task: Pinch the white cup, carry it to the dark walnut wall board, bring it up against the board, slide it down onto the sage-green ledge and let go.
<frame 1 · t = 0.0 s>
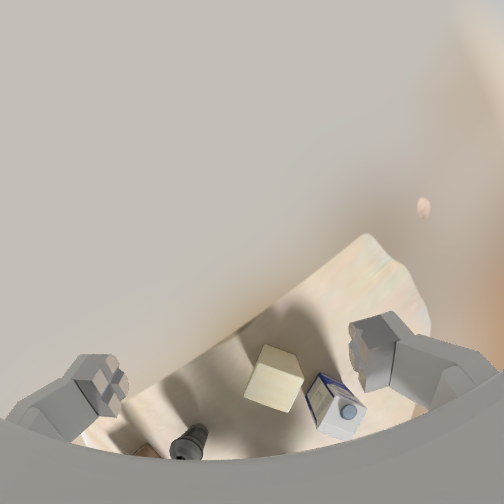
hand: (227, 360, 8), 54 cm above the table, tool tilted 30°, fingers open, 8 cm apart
milk carton: (324, 389, 57), on the table
beverage cup: (199, 431, 57), on the table
toy refrigerator: (273, 363, 59), on the table
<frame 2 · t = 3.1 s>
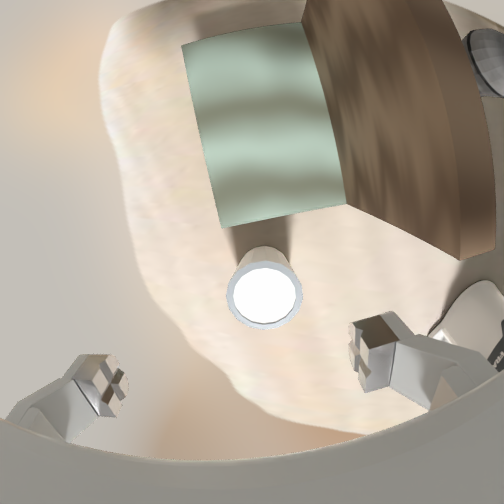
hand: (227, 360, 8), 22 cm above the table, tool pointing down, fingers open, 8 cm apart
beverage cup: (434, 84, 23), on the table
wall shelf: (318, 120, 26), on the table
white cup: (264, 269, 31), on the table
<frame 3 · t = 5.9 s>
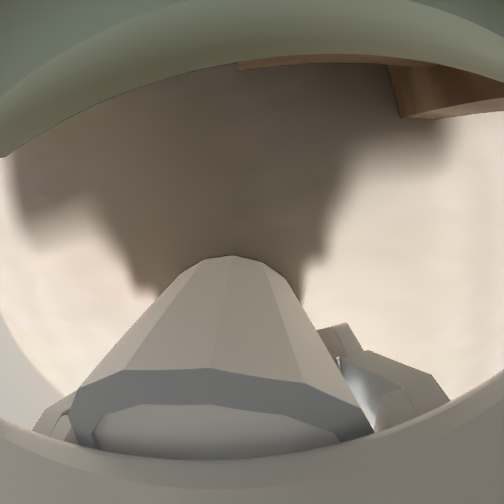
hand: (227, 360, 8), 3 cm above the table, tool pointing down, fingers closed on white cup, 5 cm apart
white cup: (231, 318, 11), on the table, touching gripper
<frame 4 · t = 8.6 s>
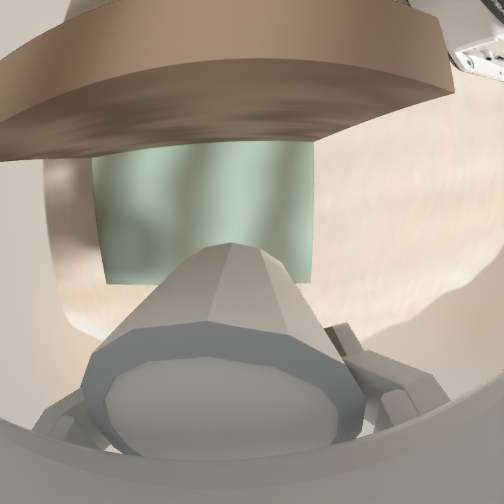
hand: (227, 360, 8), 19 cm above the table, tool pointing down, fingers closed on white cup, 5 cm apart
wall shelf: (209, 141, 24), on the table
white cup: (232, 303, 12), point 16 cm above the table, touching gripper
when the fingers open (12 cm above the table, at t = 11.6 s): white cup stays where it is, resting on wall shelf.
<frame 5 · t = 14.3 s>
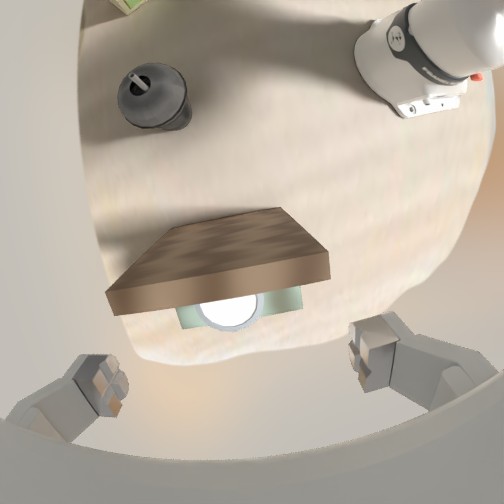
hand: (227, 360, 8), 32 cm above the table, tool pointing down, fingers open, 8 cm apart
beverage cup: (176, 115, 35), on the table
wall shelf: (226, 224, 39), on the table
white cup: (230, 275, 33), point 8 cm above the table, touching wall shelf
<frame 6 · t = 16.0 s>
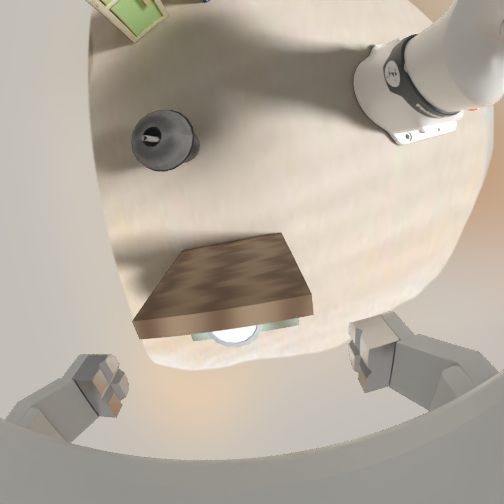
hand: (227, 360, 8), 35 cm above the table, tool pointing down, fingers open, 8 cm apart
beverage cup: (185, 147, 39), on the table
toy refrigerator: (143, 23, 32), on the table
wall shelf: (232, 247, 44), on the table
white cup: (235, 296, 38), point 8 cm above the table, touching wall shelf
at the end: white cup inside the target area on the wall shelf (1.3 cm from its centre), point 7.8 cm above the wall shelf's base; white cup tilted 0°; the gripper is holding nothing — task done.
